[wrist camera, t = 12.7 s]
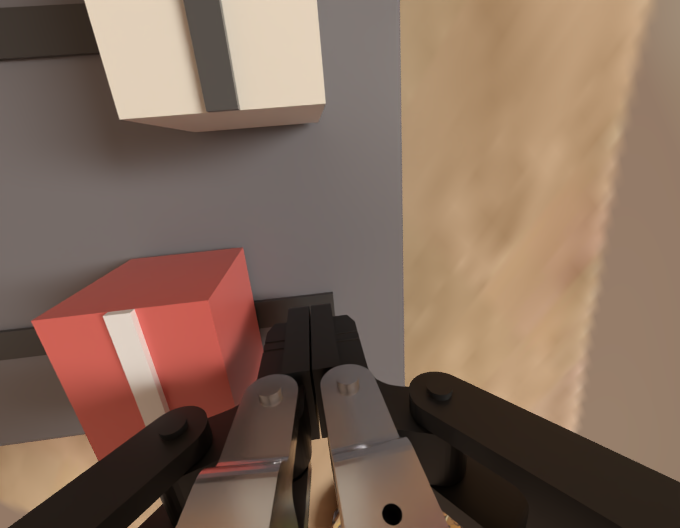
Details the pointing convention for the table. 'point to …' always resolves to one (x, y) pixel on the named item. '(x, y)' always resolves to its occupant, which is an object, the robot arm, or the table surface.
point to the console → (193, 194)
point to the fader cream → (211, 61)
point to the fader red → (154, 342)
